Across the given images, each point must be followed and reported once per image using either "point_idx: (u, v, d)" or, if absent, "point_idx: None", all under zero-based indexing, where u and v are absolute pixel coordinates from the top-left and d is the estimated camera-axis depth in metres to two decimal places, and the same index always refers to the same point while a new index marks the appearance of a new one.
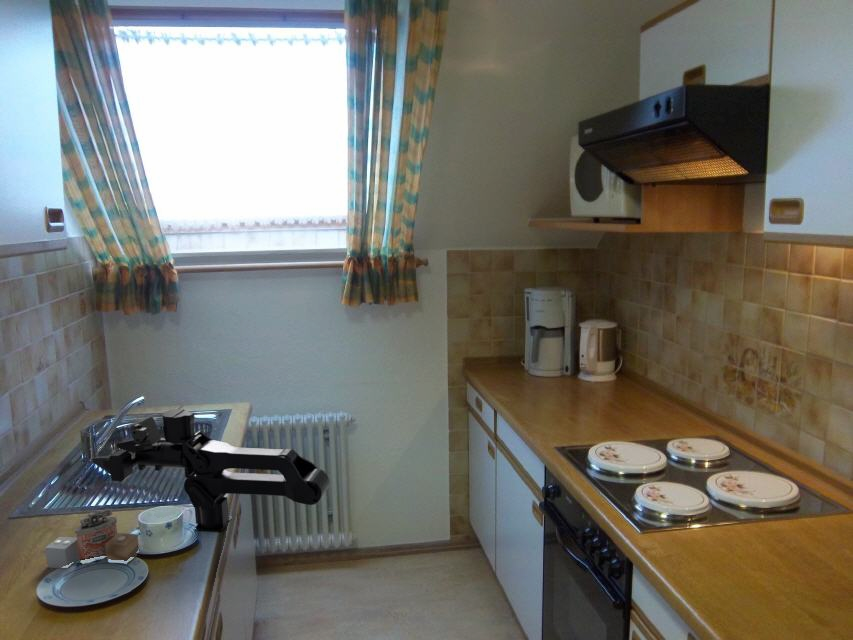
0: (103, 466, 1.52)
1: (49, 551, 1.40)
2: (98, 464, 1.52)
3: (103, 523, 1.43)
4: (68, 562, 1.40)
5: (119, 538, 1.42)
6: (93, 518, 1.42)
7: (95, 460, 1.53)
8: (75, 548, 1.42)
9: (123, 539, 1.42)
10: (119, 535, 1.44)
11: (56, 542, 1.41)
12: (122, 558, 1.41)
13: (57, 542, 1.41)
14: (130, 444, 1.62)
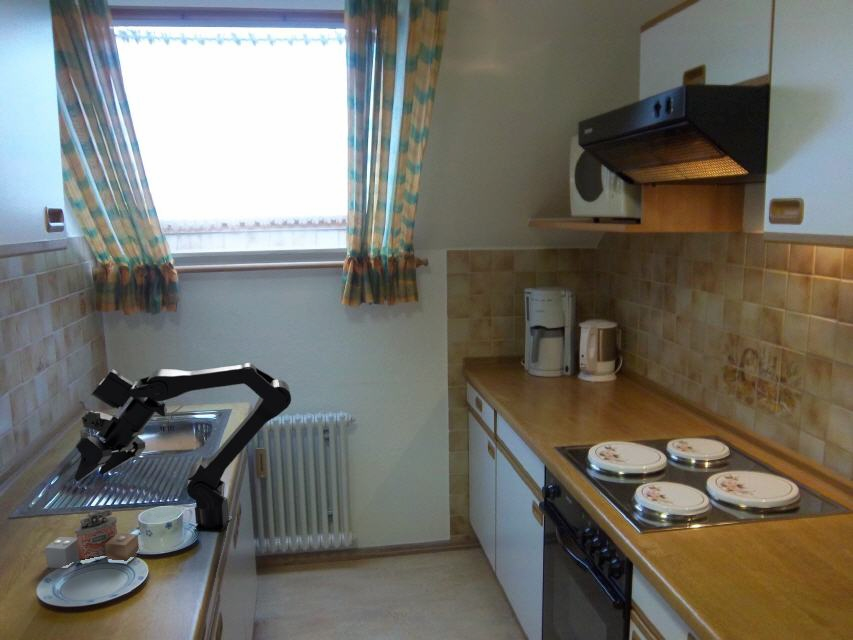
0: (86, 471, 1.42)
1: (49, 551, 1.40)
2: (81, 475, 1.43)
3: (103, 523, 1.43)
4: (68, 562, 1.40)
5: (119, 538, 1.42)
6: (93, 518, 1.42)
7: (77, 476, 1.43)
8: (75, 548, 1.42)
9: (123, 539, 1.42)
10: (119, 535, 1.44)
11: (56, 542, 1.41)
12: (122, 558, 1.41)
13: (57, 542, 1.41)
14: (109, 460, 1.53)
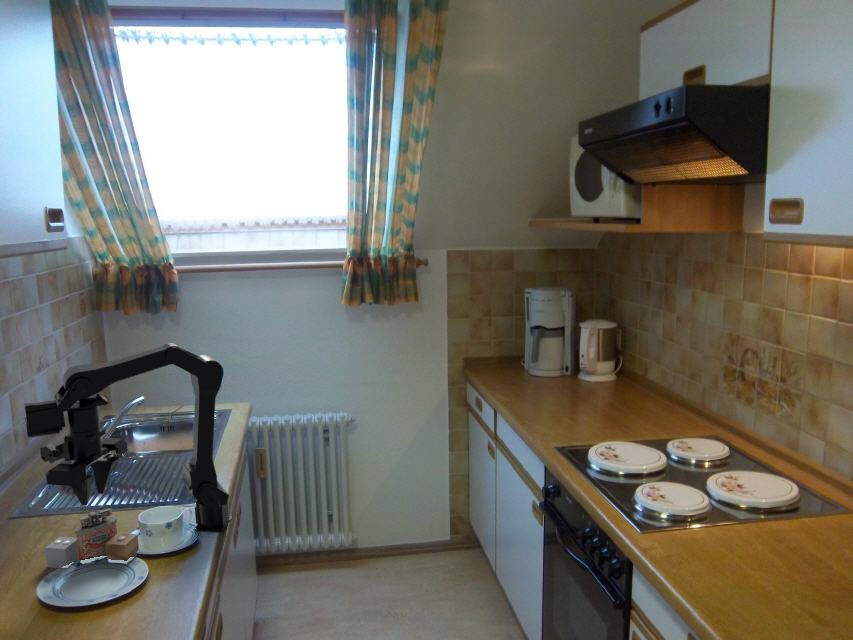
0: (83, 492, 1.37)
1: (49, 551, 1.40)
2: (84, 498, 1.38)
3: (103, 523, 1.43)
4: (68, 562, 1.40)
5: (119, 538, 1.42)
6: (93, 518, 1.42)
7: (81, 501, 1.39)
8: (75, 548, 1.42)
9: (123, 539, 1.42)
10: (119, 535, 1.44)
11: (56, 542, 1.41)
12: (122, 558, 1.41)
13: (57, 542, 1.41)
14: (98, 477, 1.44)
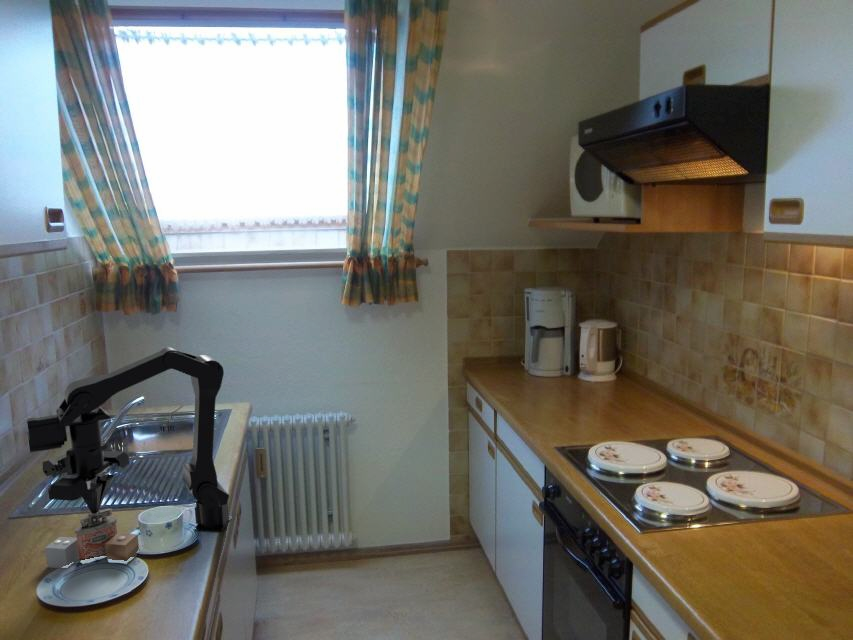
0: (93, 500, 1.40)
1: (49, 551, 1.40)
2: (94, 507, 1.41)
3: (103, 523, 1.43)
4: (68, 562, 1.40)
5: (119, 538, 1.42)
6: (93, 518, 1.42)
7: (91, 509, 1.42)
8: (75, 548, 1.42)
9: (123, 539, 1.42)
10: (119, 535, 1.44)
11: (56, 542, 1.41)
12: (122, 558, 1.41)
13: (57, 542, 1.41)
14: None
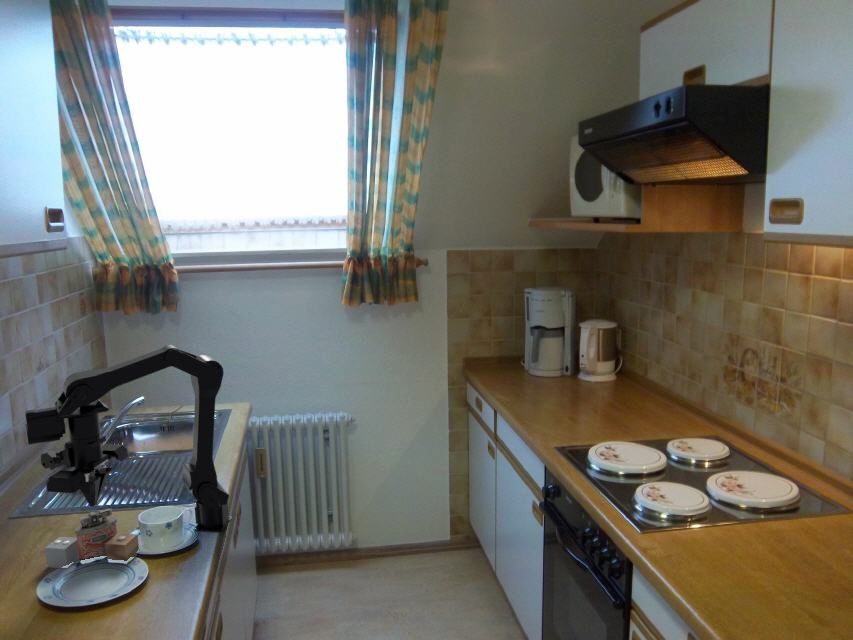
0: (91, 493, 1.40)
1: (49, 551, 1.40)
2: (92, 499, 1.41)
3: (103, 523, 1.43)
4: (68, 562, 1.40)
5: (119, 538, 1.42)
6: (93, 518, 1.42)
7: (90, 502, 1.41)
8: (75, 548, 1.42)
9: (123, 539, 1.42)
10: (119, 535, 1.44)
11: (56, 542, 1.41)
12: (122, 558, 1.41)
13: (57, 542, 1.41)
14: None
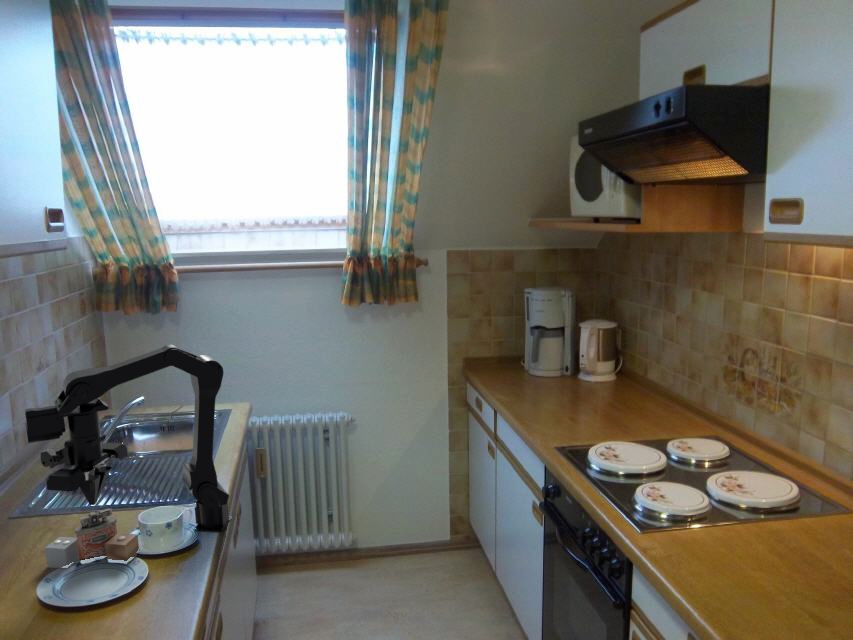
0: (91, 492, 1.40)
1: (49, 551, 1.40)
2: (92, 498, 1.41)
3: (103, 523, 1.43)
4: (68, 562, 1.40)
5: (119, 538, 1.42)
6: (93, 518, 1.42)
7: (89, 501, 1.41)
8: (75, 548, 1.42)
9: (123, 539, 1.42)
10: (119, 535, 1.44)
11: (56, 542, 1.41)
12: (122, 558, 1.41)
13: (57, 542, 1.41)
14: None
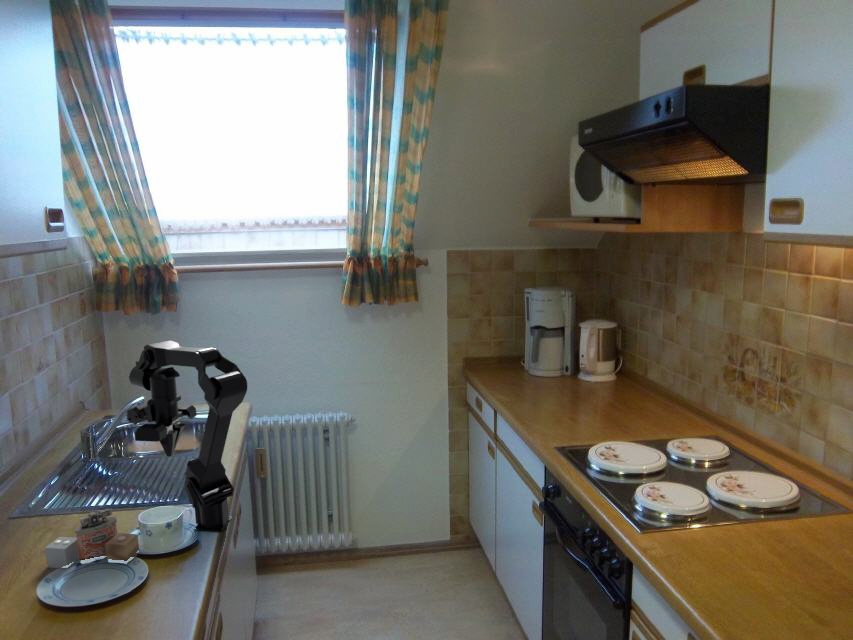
0: (169, 445, 1.62)
1: (49, 551, 1.40)
2: (169, 450, 1.63)
3: (103, 523, 1.43)
4: (68, 562, 1.40)
5: (119, 538, 1.42)
6: (93, 518, 1.42)
7: (167, 453, 1.64)
8: (75, 548, 1.42)
9: (123, 539, 1.42)
10: (119, 535, 1.44)
11: (56, 542, 1.41)
12: (122, 558, 1.41)
13: (57, 542, 1.41)
14: None
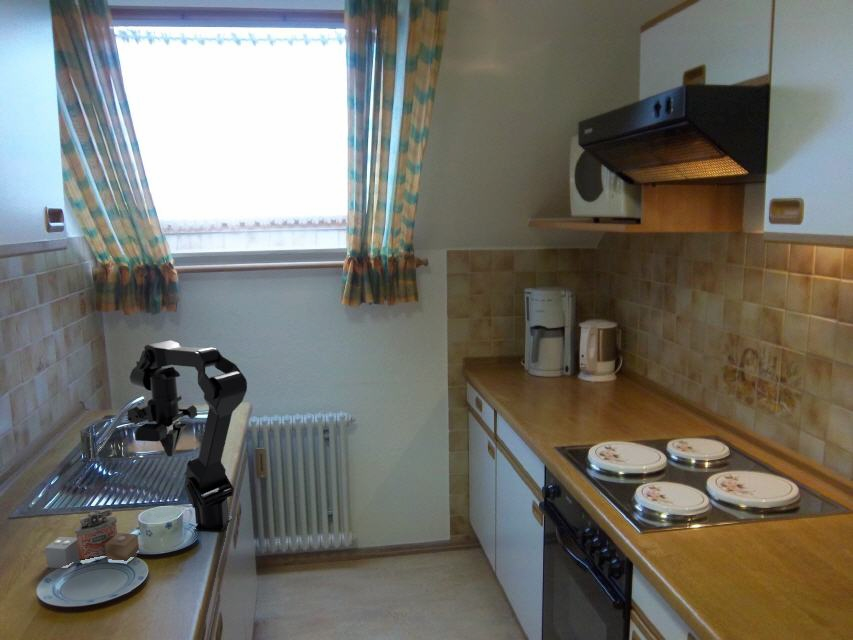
0: (169, 444, 1.62)
1: (49, 551, 1.40)
2: (170, 450, 1.63)
3: (103, 523, 1.43)
4: (68, 562, 1.40)
5: (119, 538, 1.42)
6: (93, 518, 1.42)
7: (167, 453, 1.64)
8: (75, 548, 1.42)
9: (123, 539, 1.42)
10: (119, 535, 1.44)
11: (56, 542, 1.41)
12: (122, 558, 1.41)
13: (57, 542, 1.41)
14: None
